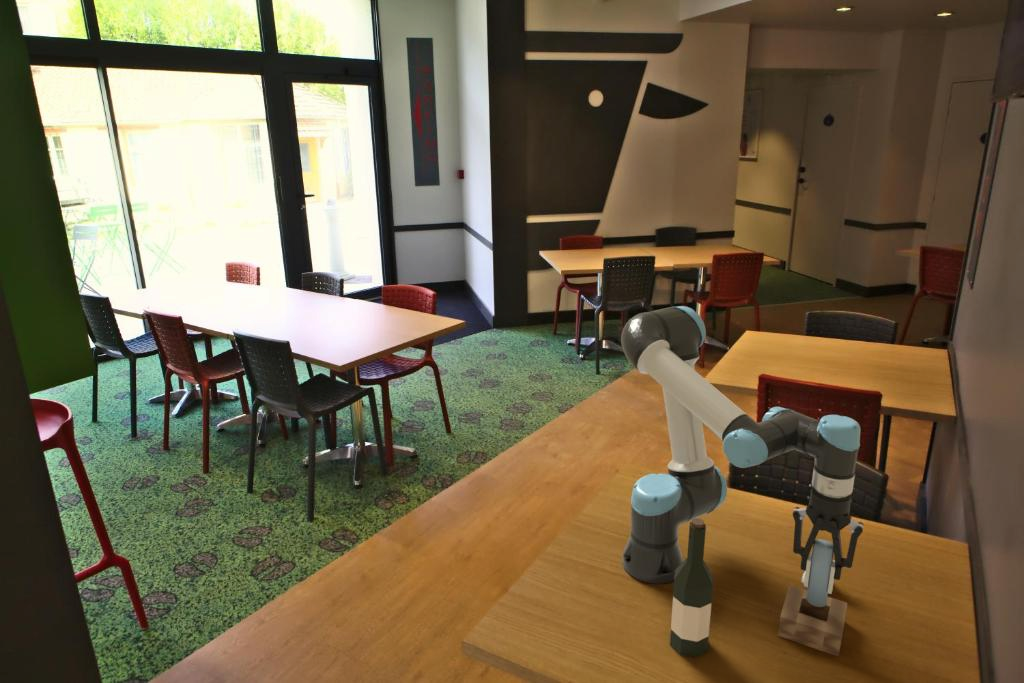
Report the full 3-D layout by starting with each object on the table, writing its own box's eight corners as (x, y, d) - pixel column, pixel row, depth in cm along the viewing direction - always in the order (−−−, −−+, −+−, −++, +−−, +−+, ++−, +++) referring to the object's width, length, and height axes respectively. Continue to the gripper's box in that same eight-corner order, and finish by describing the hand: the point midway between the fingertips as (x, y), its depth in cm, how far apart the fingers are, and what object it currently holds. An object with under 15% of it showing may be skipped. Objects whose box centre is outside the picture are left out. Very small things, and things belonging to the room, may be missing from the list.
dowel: (805, 602, 140) (812, 546, 136) (807, 592, 143) (814, 537, 139) (825, 609, 138) (833, 552, 134) (827, 598, 141) (835, 542, 137)
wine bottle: (679, 624, 145) (687, 506, 136) (715, 641, 140) (726, 519, 131) (662, 645, 139) (669, 523, 130) (698, 664, 134) (709, 538, 125)
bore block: (777, 635, 141) (780, 616, 139) (787, 603, 151) (789, 585, 149) (838, 656, 135) (841, 637, 133) (844, 621, 145) (847, 602, 143)
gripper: (784, 487, 134) (773, 583, 141) (877, 509, 125) (861, 610, 132) (790, 472, 140) (779, 565, 147) (879, 492, 131) (864, 589, 138)
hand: (818, 586), depth 139 cm, fingers closed on dowel, 4 cm apart
